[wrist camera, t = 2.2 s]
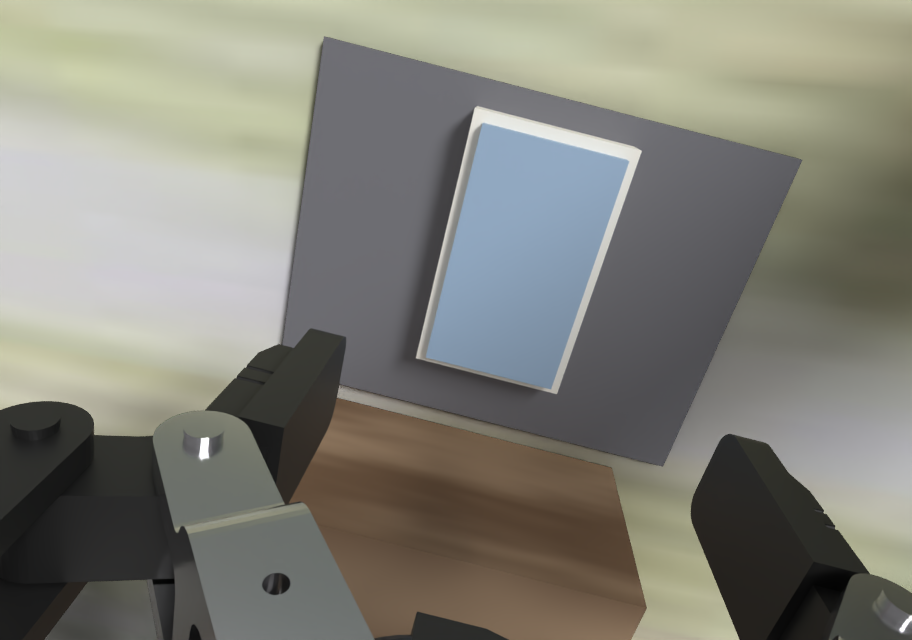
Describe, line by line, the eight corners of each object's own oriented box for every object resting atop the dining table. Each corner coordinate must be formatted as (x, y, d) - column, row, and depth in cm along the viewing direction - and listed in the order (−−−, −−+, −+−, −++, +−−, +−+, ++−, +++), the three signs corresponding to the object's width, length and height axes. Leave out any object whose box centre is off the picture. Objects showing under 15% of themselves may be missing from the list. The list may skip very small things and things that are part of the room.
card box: (477, 105, 22) (473, 108, 20) (634, 146, 22) (644, 152, 20) (421, 343, 26) (413, 363, 24) (554, 377, 26) (557, 400, 24)
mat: (327, 37, 22) (324, 36, 22) (797, 158, 22) (802, 159, 22) (282, 364, 27) (279, 368, 27) (660, 461, 28) (662, 466, 27)
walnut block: (321, 393, 28) (251, 507, 20) (611, 468, 28) (646, 608, 21) (289, 580, 32) (223, 728, 25) (538, 643, 33) (545, 809, 25)
